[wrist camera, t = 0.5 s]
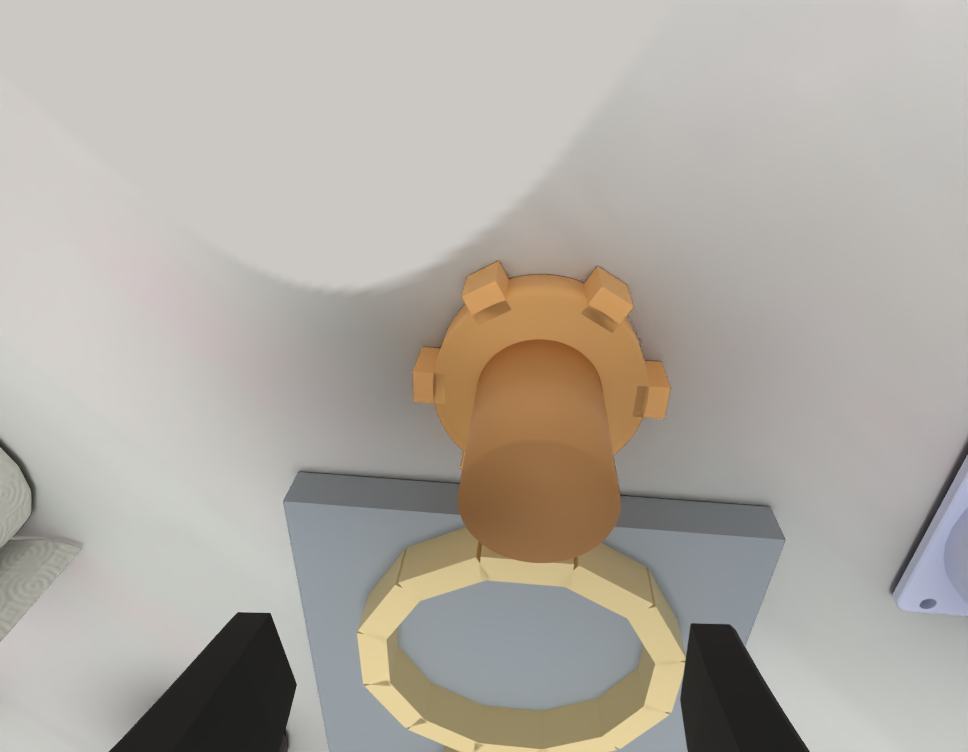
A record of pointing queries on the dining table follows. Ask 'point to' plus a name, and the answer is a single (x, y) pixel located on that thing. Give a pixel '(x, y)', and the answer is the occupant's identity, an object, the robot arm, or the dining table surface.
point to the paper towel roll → (23, 550)
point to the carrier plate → (511, 619)
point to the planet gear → (540, 407)
